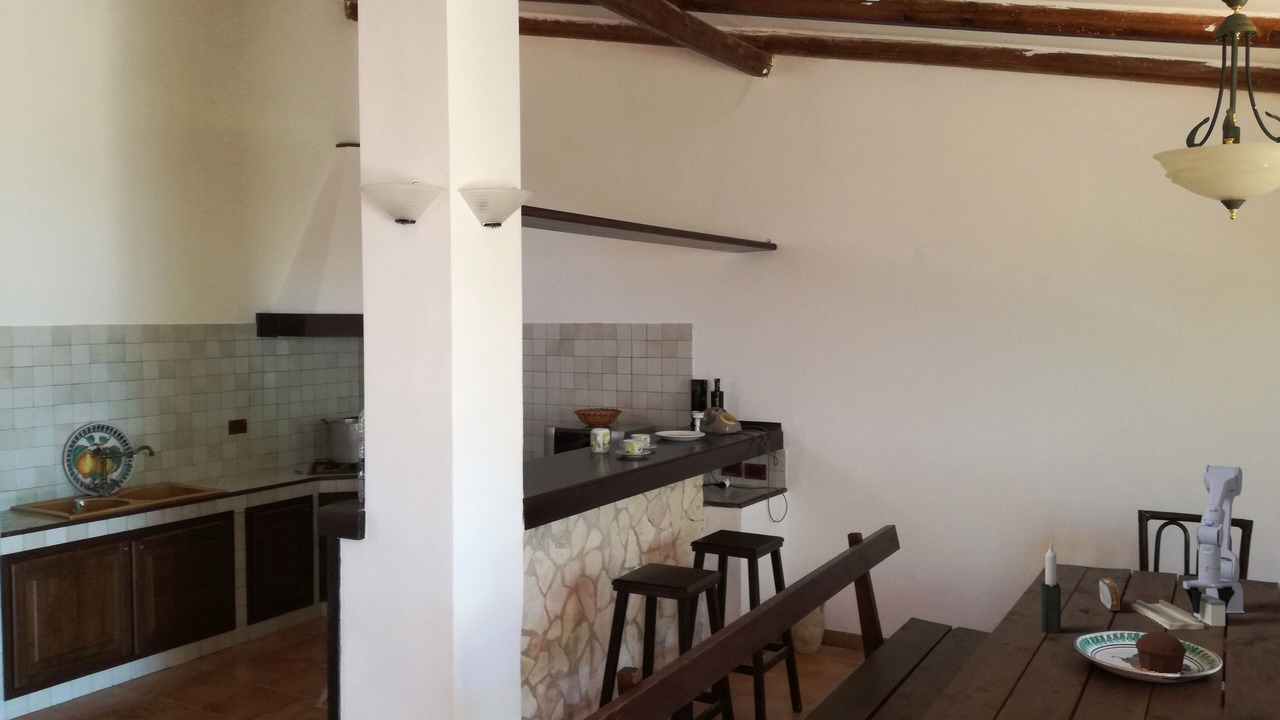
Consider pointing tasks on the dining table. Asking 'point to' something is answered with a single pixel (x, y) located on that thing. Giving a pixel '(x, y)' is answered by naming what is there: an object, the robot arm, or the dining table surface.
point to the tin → (1109, 594)
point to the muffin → (1160, 652)
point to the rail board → (1168, 615)
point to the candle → (1050, 596)
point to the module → (1211, 610)
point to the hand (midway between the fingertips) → (1209, 612)
